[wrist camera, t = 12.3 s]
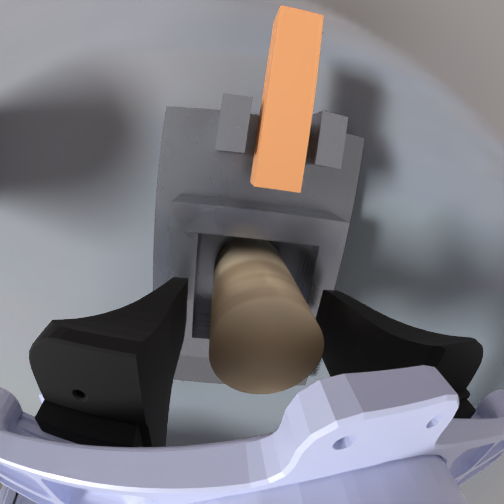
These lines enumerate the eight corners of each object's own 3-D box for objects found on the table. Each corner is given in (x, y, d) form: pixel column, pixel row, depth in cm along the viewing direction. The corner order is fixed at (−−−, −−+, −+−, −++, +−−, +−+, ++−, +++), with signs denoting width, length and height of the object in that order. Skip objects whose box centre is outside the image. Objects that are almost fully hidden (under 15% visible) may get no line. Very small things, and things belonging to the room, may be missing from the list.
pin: (290, 187, 11) (300, 192, 10) (250, 182, 11) (254, 186, 10) (311, 30, 9) (323, 15, 8) (273, 21, 9) (280, 5, 7)
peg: (279, 301, 16) (312, 391, 9) (213, 299, 16) (209, 393, 9) (286, 238, 15) (334, 304, 8) (215, 234, 14) (208, 302, 8)
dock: (301, 375, 19) (319, 428, 15) (159, 367, 18) (146, 422, 13) (356, 138, 14) (407, 136, 10) (170, 109, 13) (144, 89, 8)
